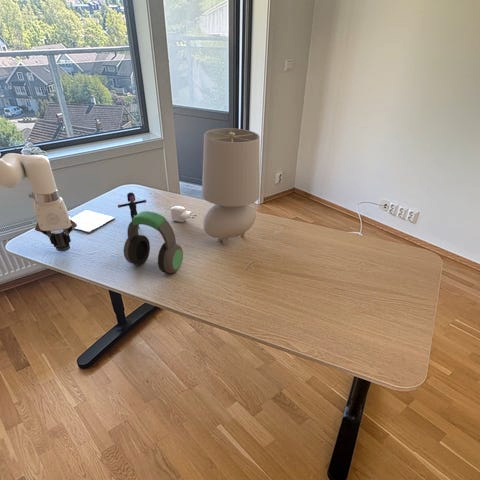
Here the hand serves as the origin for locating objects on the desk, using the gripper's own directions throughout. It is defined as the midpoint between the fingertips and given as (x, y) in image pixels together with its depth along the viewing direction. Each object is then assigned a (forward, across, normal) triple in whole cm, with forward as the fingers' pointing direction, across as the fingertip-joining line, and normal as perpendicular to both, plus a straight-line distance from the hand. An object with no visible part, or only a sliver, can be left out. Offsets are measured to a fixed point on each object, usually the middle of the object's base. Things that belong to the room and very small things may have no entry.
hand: (61, 244), depth 128 cm
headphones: (+3, +30, -20) cm, 37 cm away
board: (+3, +10, +24) cm, 26 cm away
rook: (+2, 0, 0) cm, 2 cm away
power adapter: (+3, +50, +13) cm, 51 cm away
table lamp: (+3, +64, -9) cm, 64 cm away
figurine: (+3, +28, +13) cm, 31 cm away
